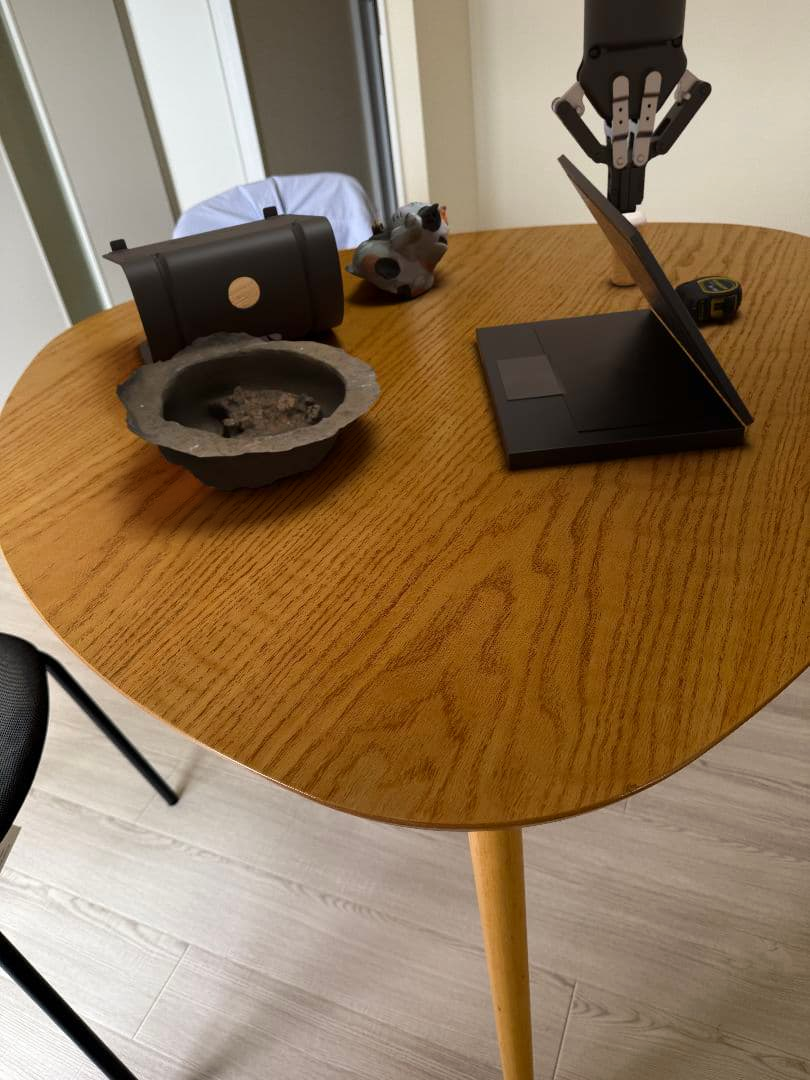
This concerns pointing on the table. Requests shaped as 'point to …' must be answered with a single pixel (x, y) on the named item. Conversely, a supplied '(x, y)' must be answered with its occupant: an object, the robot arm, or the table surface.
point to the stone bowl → (247, 406)
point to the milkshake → (618, 268)
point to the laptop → (599, 391)
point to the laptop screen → (654, 285)
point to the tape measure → (710, 297)
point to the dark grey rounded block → (215, 262)
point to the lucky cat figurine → (404, 249)
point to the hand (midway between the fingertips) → (624, 211)
